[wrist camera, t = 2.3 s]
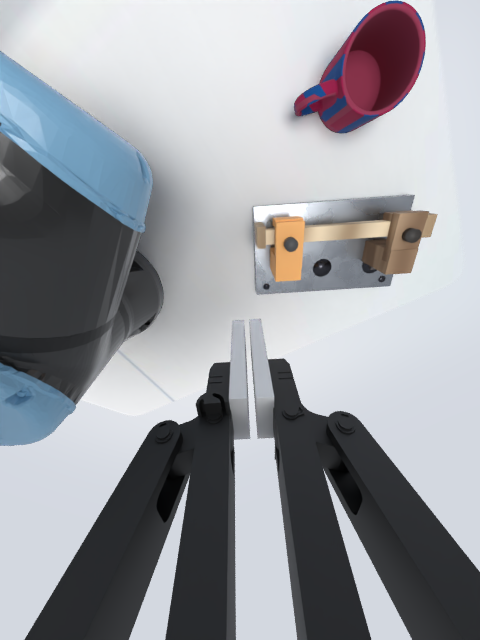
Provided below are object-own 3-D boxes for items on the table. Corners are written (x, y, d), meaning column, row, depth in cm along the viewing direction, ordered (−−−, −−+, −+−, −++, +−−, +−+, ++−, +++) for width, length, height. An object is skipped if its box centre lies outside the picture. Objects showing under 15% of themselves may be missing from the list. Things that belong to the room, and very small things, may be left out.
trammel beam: (256, 275, 33) (259, 294, 27) (254, 218, 30) (258, 225, 24) (395, 266, 33) (430, 283, 27) (411, 206, 29) (456, 210, 23)
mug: (377, 125, 26) (418, 105, 20) (289, 146, 27) (303, 134, 21) (383, 40, 23) (434, -13, 17) (283, 68, 24) (298, 27, 18)
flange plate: (256, 291, 36) (256, 294, 35) (253, 206, 30) (253, 207, 29) (385, 283, 35) (390, 286, 34) (408, 194, 29) (415, 195, 28)
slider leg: (270, 275, 33) (276, 293, 27) (270, 215, 29) (278, 222, 23) (290, 273, 33) (302, 292, 27) (293, 213, 29) (307, 219, 23)
